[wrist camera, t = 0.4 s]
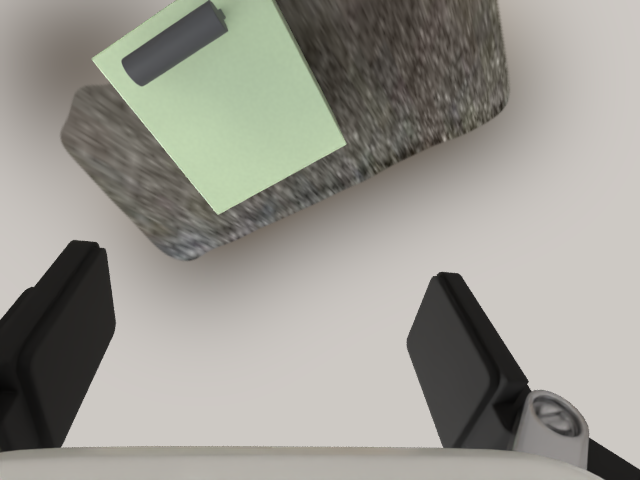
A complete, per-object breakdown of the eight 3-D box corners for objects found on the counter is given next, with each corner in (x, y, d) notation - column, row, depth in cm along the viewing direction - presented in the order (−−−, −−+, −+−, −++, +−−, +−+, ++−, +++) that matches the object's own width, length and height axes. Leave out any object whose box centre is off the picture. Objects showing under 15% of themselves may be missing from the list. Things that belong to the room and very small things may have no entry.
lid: (94, 57, 30) (62, 70, 25) (247, -48, 27) (241, -54, 23) (218, 211, 38) (211, 242, 33) (345, 141, 35) (356, 164, 31)
